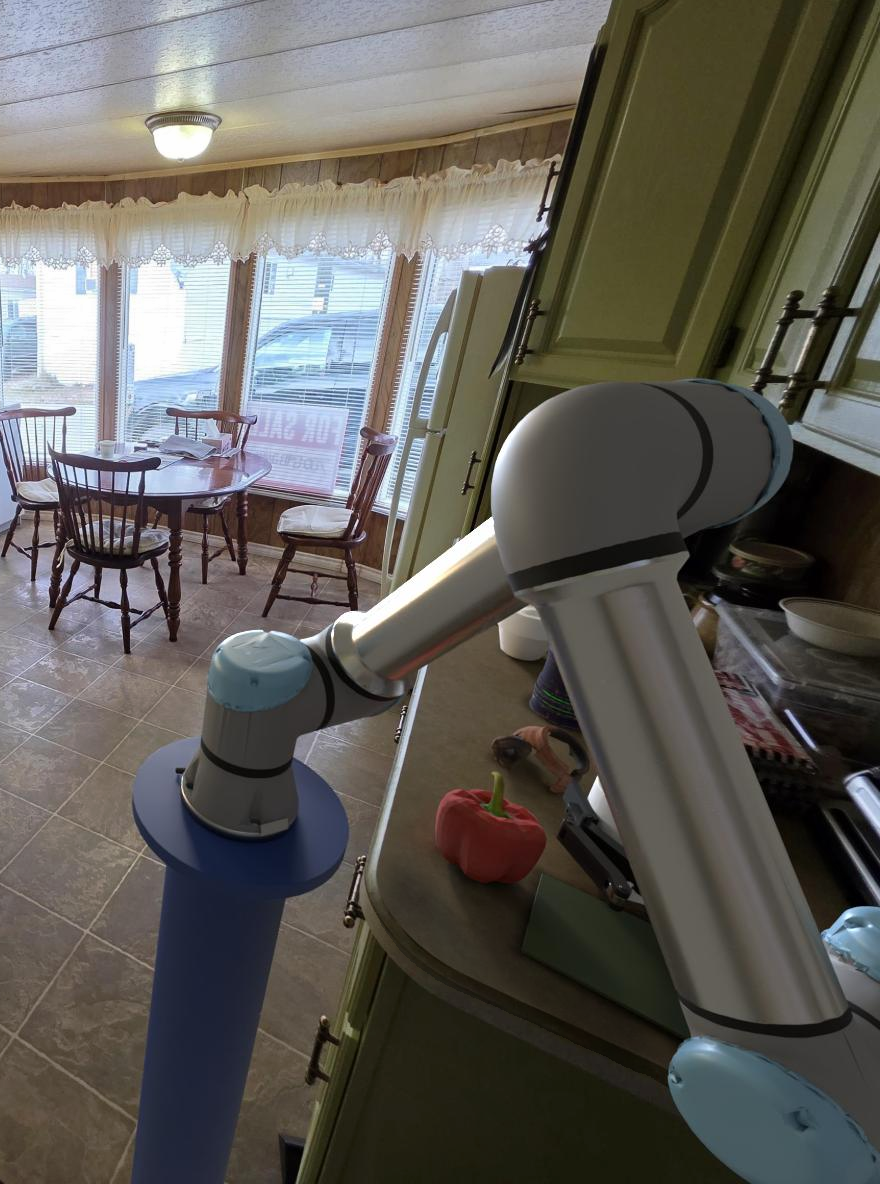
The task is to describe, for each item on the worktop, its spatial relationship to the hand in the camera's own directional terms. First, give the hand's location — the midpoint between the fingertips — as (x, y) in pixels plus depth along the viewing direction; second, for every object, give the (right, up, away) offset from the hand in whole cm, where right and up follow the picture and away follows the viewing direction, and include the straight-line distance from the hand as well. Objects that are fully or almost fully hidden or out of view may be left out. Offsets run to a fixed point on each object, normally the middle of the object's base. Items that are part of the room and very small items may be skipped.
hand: (623, 801), depth 74 cm
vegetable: (-17, -8, +1) cm, 18 cm away
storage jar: (+16, +4, +30) cm, 35 cm away
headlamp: (0, -2, +16) cm, 16 cm away
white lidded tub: (+21, +11, +48) cm, 54 cm away
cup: (-2, -7, -1) cm, 8 cm away
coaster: (-10, -12, -9) cm, 18 cm away
